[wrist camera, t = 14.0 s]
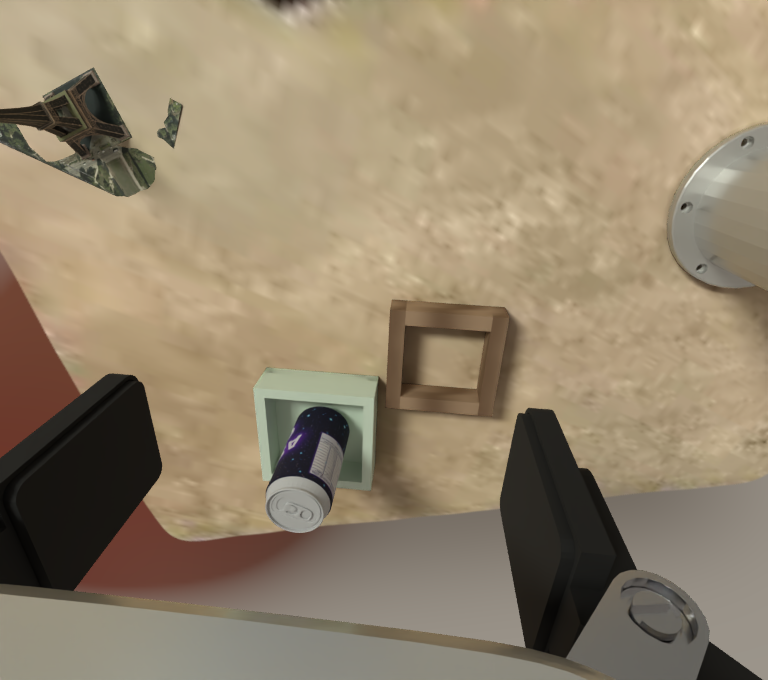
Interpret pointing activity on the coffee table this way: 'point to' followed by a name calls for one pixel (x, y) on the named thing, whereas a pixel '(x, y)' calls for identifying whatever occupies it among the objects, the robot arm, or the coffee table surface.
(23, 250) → the coffee table surface
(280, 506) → the beverage can
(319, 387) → the tray
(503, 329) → the socket block
